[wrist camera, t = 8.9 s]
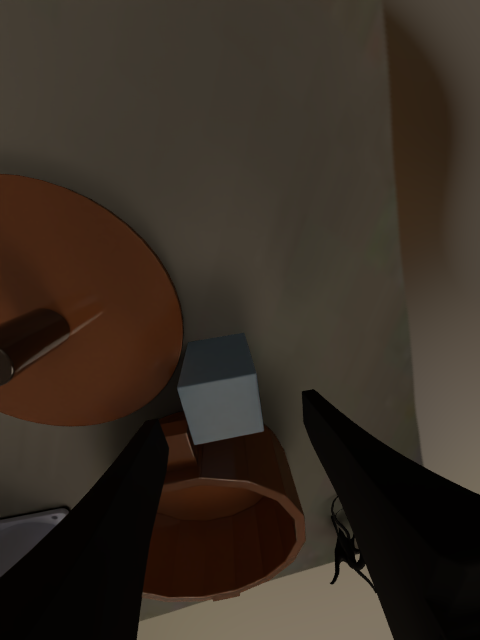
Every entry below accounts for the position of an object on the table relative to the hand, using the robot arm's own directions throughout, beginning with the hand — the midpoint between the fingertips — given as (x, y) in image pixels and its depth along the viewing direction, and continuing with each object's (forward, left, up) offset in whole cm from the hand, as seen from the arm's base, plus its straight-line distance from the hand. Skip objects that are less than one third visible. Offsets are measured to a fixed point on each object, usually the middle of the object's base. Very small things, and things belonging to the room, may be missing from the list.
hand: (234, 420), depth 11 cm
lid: (-10, +5, -5) cm, 12 cm away
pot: (-4, -11, -6) cm, 13 cm away
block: (-1, 0, -6) cm, 6 cm away
